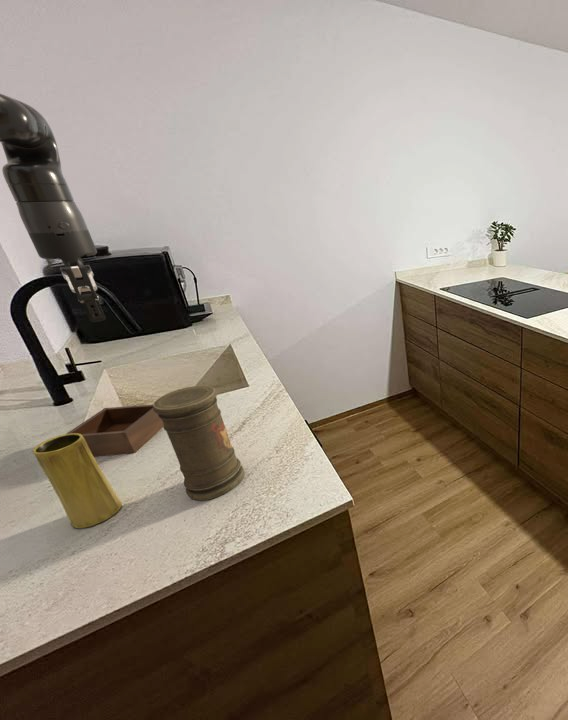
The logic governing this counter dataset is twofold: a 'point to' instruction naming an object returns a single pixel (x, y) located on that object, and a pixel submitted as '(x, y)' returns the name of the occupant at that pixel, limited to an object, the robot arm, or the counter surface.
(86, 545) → the counter surface
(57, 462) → the vase
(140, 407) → the tray
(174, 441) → the container
